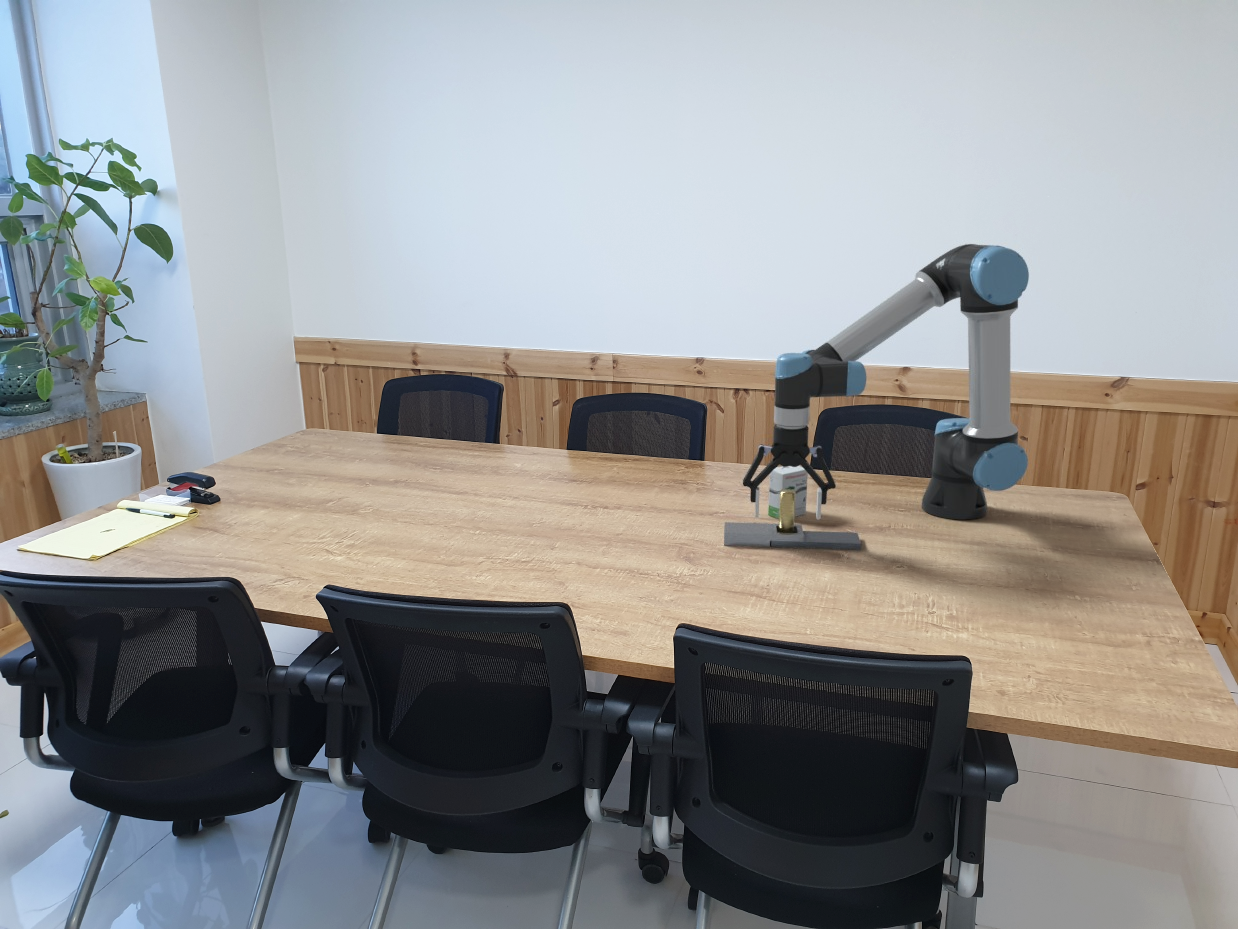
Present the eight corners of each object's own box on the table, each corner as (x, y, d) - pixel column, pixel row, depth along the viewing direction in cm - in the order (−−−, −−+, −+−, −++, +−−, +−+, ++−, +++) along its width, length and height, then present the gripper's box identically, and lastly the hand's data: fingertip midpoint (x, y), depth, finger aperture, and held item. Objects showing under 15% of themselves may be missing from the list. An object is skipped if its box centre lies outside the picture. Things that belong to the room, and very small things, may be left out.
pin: (793, 539, 207) (795, 489, 204) (793, 545, 204) (796, 494, 201) (777, 539, 208) (779, 489, 204) (778, 544, 204) (780, 493, 201)
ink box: (781, 520, 219) (783, 473, 216) (767, 515, 223) (768, 469, 220) (807, 513, 224) (809, 467, 221) (792, 508, 228) (794, 463, 225)
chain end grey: (801, 536, 209) (801, 524, 208) (803, 548, 202) (803, 535, 201) (724, 534, 211) (724, 522, 210) (723, 545, 204) (724, 532, 203)
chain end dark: (856, 538, 207) (857, 532, 207) (860, 550, 200) (861, 543, 200) (770, 535, 210) (770, 529, 209) (771, 546, 203) (771, 540, 203)
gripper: (847, 421, 200) (842, 512, 206) (733, 419, 203) (731, 509, 209) (851, 430, 193) (846, 524, 199) (733, 427, 196) (731, 520, 202)
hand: (787, 516), depth 204 cm, fingers open, 13 cm apart
